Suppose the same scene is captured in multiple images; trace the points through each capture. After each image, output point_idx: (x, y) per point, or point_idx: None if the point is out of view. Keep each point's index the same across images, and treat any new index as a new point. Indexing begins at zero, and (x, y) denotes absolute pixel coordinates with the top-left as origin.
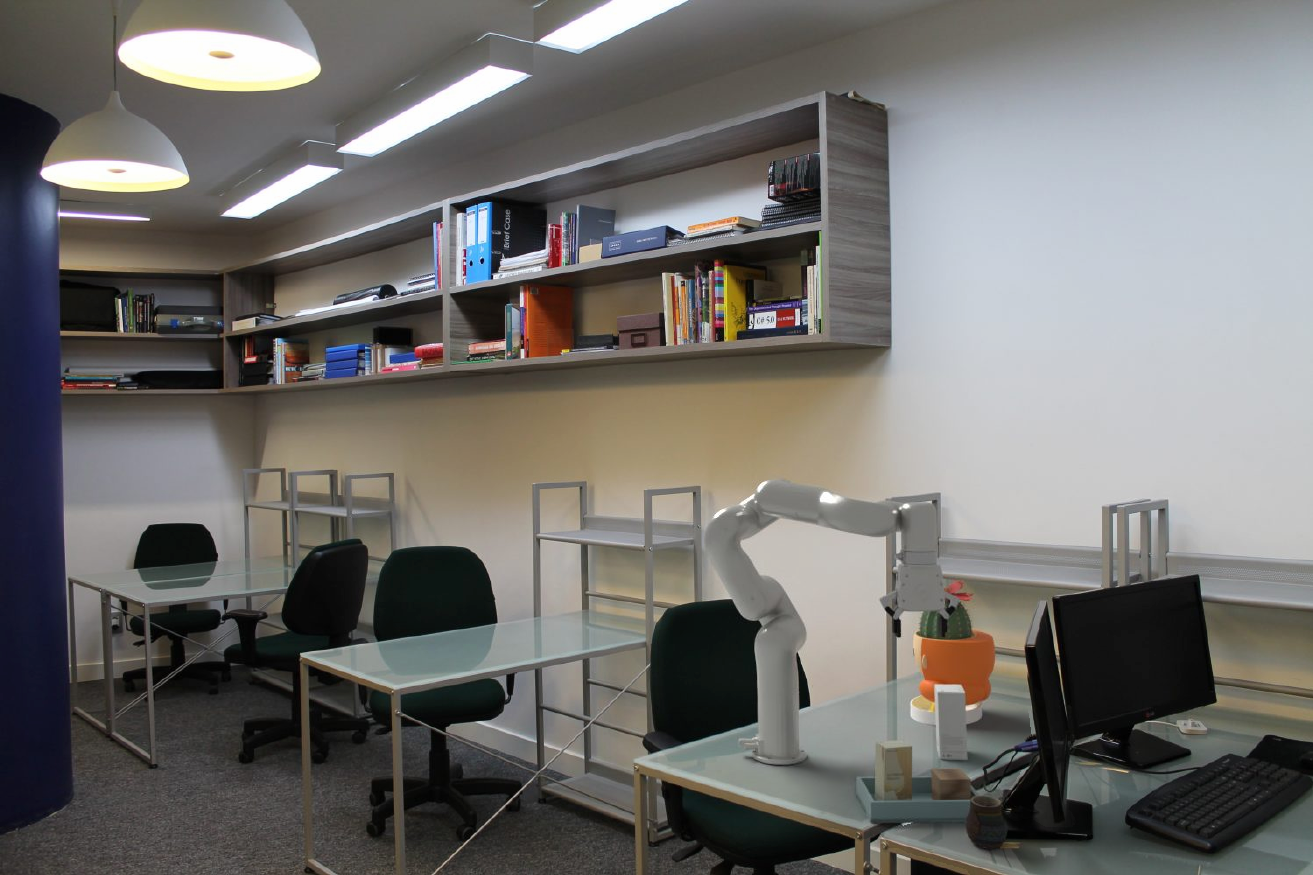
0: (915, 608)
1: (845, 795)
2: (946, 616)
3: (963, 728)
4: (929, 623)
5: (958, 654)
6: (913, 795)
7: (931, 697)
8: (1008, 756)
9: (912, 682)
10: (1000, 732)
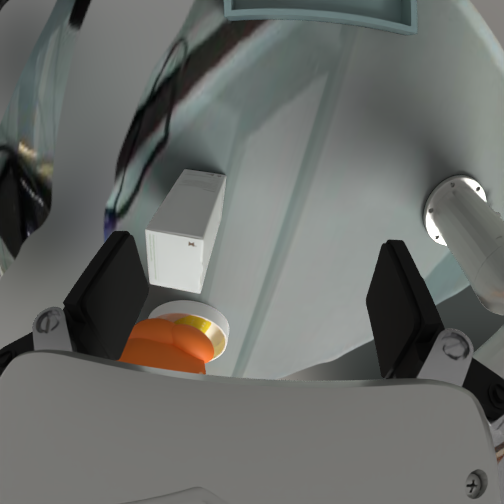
0: (323, 408)
1: (419, 41)
2: (50, 321)
3: (173, 191)
4: None
5: None
6: (319, 5)
7: (201, 333)
8: (125, 188)
9: None
10: None
